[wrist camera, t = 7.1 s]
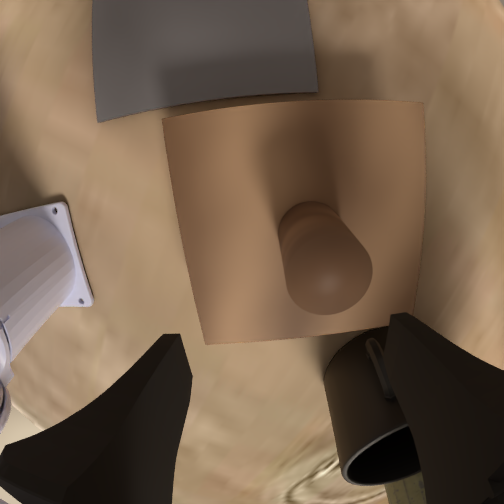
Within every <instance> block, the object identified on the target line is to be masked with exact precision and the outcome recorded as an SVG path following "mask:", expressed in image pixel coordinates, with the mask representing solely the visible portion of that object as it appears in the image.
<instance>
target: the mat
mask: <svg viewBox="0 0 504 504" xmlns="http://www.w3.org/2000/svg"><path fill="white" fill-rule="evenodd" d="M92 56H93V77H94V92H95V104H96V114H97V123H98V122H104V121H107V120H111V119H115V118H119V117H123V116H128V115H132V114H136V113H141V112H146V111H150V110H155V109H160V108H166V107H171V106H177V105H183V104H189V103H195V102H202V101H209V100H217V99H225V98H234V97H244V96H255V95H268V94H285V93H317V92H319V91H318V81H317V71H316V62H315V53H314V45H313V37H312V30H311V23H310V16H309V9H308V3H307V0H93V4H92Z"/></svg>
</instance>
